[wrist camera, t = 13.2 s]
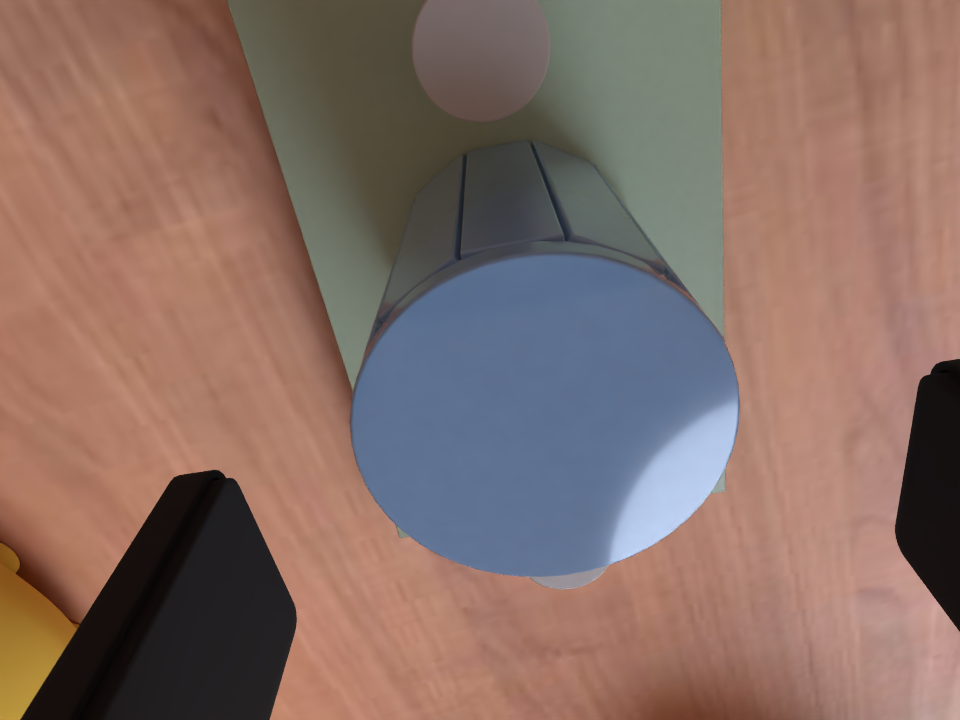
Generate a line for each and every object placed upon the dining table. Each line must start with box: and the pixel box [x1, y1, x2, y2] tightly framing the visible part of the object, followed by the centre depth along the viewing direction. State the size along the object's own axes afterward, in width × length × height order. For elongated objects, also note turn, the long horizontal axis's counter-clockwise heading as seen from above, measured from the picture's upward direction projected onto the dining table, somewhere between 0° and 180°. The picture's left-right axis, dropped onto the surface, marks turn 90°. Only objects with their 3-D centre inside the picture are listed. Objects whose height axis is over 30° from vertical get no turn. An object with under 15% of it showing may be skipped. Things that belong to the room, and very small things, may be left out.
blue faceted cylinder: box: [350, 139, 740, 577], centre depth 16 cm, size 7×7×9 cm
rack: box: [227, 0, 726, 589], centre depth 17 cm, size 20×12×8 cm, turn 10°
